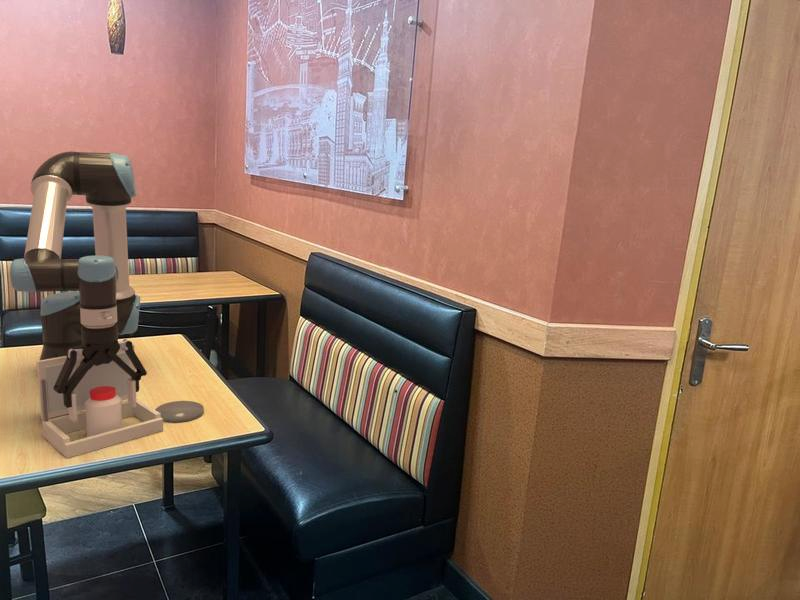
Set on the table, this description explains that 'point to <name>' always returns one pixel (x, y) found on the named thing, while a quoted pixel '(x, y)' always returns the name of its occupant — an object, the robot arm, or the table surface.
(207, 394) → the table surface
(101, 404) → the pill bottle
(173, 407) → the saucer
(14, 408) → the table surface
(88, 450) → the box
